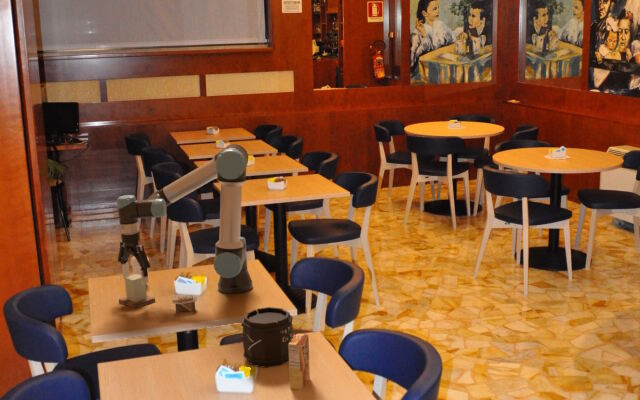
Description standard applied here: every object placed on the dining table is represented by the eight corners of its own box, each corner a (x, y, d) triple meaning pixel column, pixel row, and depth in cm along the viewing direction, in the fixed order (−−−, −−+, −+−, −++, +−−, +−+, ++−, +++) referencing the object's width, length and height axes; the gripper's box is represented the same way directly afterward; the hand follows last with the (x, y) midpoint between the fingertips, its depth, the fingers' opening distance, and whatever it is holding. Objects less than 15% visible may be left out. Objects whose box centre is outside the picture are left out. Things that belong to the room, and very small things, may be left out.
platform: (210, 313, 321) (209, 298, 320) (165, 320, 316) (164, 304, 315) (205, 304, 332) (204, 289, 331) (162, 310, 327) (160, 295, 326)
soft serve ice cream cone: (138, 288, 354) (135, 254, 350) (129, 284, 360) (125, 250, 356) (154, 284, 359) (151, 250, 356) (145, 280, 365) (142, 246, 362)
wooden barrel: (246, 347, 285) (243, 306, 282) (296, 346, 284) (294, 305, 281) (238, 369, 268) (235, 325, 264) (291, 368, 267) (289, 324, 263)
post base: (155, 301, 337) (153, 282, 335) (135, 308, 329) (133, 289, 328) (138, 295, 345) (136, 277, 343) (119, 302, 337) (117, 283, 336)
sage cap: (146, 298, 337) (144, 276, 335) (135, 302, 333) (132, 280, 330) (138, 295, 341) (136, 273, 339) (126, 299, 337) (124, 277, 334)
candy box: (298, 376, 260) (296, 333, 257) (310, 378, 259) (308, 334, 255) (289, 389, 252) (287, 344, 248) (302, 390, 251) (300, 345, 247)
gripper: (105, 230, 336) (111, 278, 341) (139, 238, 319) (145, 288, 324) (120, 226, 341) (126, 273, 346) (155, 234, 324) (160, 283, 329)
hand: (136, 280), depth 335 cm, fingers open, 13 cm apart
